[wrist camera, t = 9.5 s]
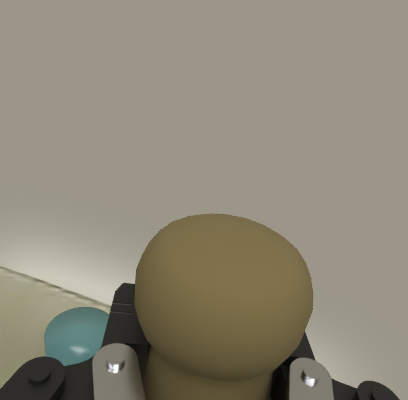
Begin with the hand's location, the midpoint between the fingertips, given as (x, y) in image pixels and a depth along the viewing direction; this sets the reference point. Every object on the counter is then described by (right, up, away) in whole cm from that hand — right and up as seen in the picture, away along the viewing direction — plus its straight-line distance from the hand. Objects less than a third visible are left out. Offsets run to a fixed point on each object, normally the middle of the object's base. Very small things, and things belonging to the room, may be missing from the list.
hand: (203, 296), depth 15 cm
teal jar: (-12, -16, +22) cm, 30 cm away
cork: (-1, -7, +1) cm, 7 cm away
